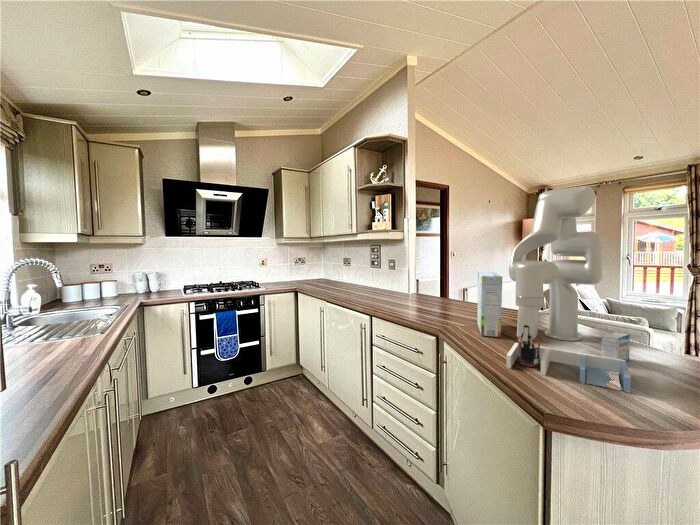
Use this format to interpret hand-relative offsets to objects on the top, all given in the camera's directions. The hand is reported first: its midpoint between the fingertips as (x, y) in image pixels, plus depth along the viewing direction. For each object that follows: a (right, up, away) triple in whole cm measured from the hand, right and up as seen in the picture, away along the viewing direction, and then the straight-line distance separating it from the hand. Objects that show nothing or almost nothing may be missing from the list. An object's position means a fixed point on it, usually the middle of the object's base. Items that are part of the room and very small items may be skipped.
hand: (528, 356), depth 97 cm
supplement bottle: (0, -3, 0) cm, 3 cm away
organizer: (+7, -3, -6) cm, 10 cm away
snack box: (+5, 0, +38) cm, 39 cm away
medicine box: (+29, -2, +1) cm, 29 cm away
